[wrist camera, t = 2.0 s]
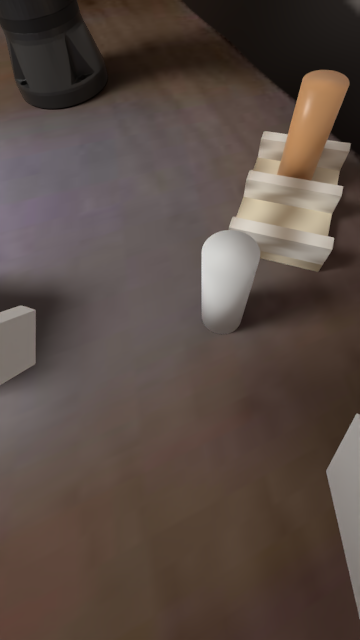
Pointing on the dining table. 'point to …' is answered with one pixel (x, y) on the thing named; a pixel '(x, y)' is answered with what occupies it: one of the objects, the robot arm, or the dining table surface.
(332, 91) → the orange plug
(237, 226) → the rack
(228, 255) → the grey plug
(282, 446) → the dining table surface
